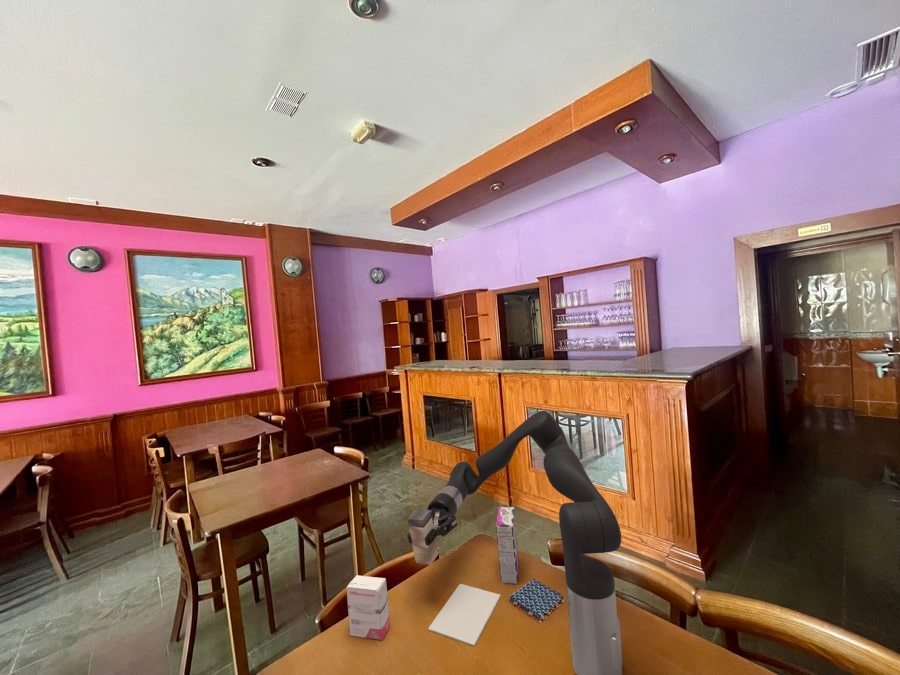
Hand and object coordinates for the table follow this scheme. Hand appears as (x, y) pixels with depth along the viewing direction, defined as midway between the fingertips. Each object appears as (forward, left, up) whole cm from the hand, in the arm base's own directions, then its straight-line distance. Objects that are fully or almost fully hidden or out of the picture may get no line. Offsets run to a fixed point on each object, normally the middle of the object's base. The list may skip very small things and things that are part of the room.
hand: (417, 541), depth 93 cm
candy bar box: (-15, -23, -18) cm, 33 cm away
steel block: (0, -3, -6) cm, 7 cm away
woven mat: (-25, -14, -19) cm, 34 cm away
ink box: (+9, +10, -18) cm, 23 cm away
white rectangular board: (-10, -4, -18) cm, 21 cm away
